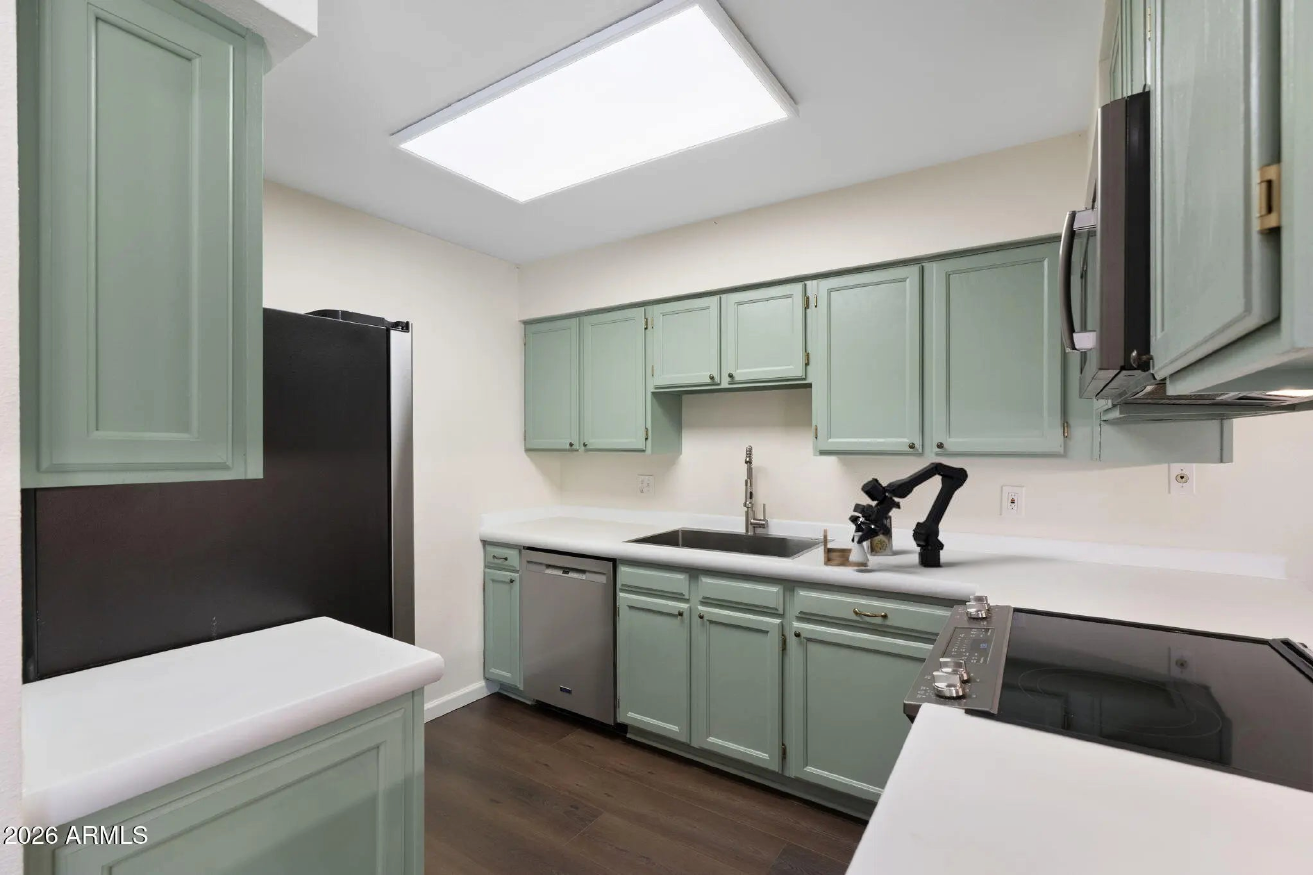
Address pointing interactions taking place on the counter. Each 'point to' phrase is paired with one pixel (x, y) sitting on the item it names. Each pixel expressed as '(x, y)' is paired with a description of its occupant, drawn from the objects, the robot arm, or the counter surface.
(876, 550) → the coffee box
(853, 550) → the flask
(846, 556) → the spice stand
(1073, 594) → the counter surface
